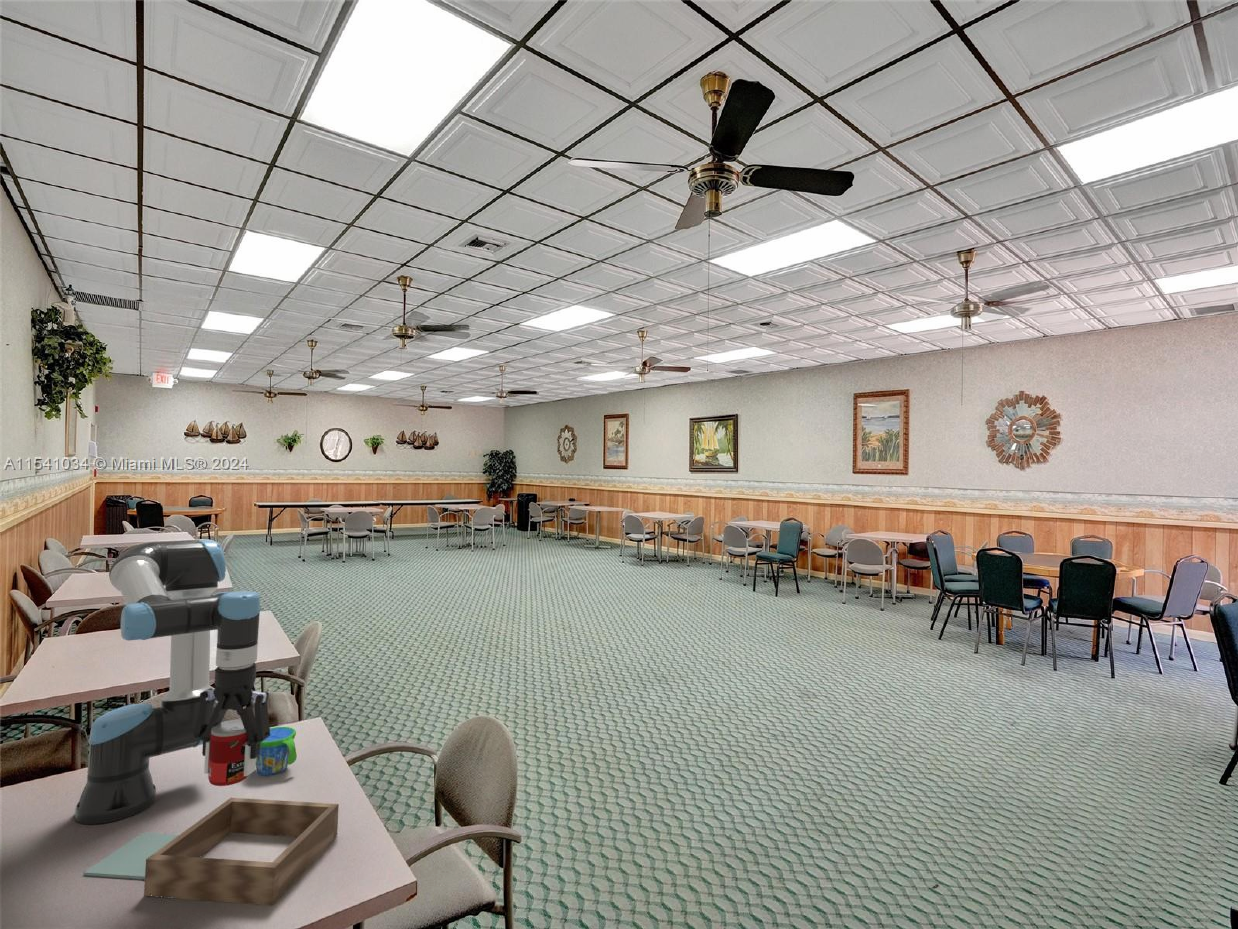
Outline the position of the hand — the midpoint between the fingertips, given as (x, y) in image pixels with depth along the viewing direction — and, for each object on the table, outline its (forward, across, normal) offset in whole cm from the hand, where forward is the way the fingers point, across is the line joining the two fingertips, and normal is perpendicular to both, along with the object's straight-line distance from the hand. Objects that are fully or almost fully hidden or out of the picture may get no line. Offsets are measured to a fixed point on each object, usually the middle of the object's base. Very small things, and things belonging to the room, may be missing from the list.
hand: (229, 771), depth 126 cm
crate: (+18, +6, -1) cm, 19 cm away
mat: (+19, -17, 0) cm, 25 cm away
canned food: (+1, 0, 0) cm, 1 cm away
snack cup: (+19, -14, +39) cm, 46 cm away
